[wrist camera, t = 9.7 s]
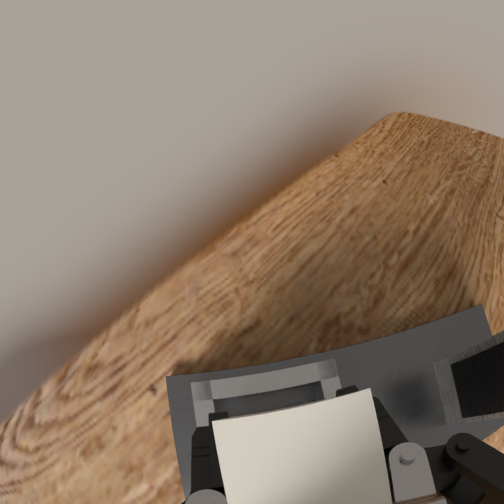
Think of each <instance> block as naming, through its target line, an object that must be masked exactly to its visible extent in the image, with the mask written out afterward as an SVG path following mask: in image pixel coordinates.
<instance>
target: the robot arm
mask: <svg viewBox="0 0 504 504" xmlns="http://www.w3.org/2000/svg"><path fill="white" fill-rule="evenodd" d="M357 391H359V390H358V388H357V387H356V386H355V385H353V386H349V387H345V388H342V389H338V390H337V391H336V397H338V396H342V395H346V394H350V393H354V392H357ZM372 398H373V402H374V406H375V411H376V416H377V420H378V425H379V430H380V435H381V440H382V445H383V450H384V456H385V461H386V467H387V473H388V479H389V486H390V492H391V499H392V504H504V454H503V453H501V452H500V451H498V450H496V449H495V448H493V447H491V446H490V445H488V444H486V443H485V442H483V441H481V440H480V439H478V438H476V437H475V436H473V435H471V434H469V433H458V434H455V435H453V436H452V437H450V438H449V440H448V441H447V443H446V444H445V445H439V446H434V447H428V448H423V447H421V446H420V445H418V444H416V443H411V442H409V441H408V440H407V439H406V437H405V436H404V434H403V433H402V431H401V430H400V429H399V427H398V426H397V424H396V423H395V421H394V420H393V419H392V417H391V416H390V414H389V413H388V412H387V410H385V407H384V406H383V404H382V403H381V402H380V400H379V399H377V398H376V397H374V396H373V395H372ZM225 418H229V415H228V411H222V412H214V413H209V414H208V419H209V426H202V427H197V428H196V430H195V432H194V434H193V435H192V442H191V448H192V450H191V457H192V458H191V492H190V495H189V497H188V498H187V499H186V500H185V501H184V502H183V503H182V504H228V503H227V498H226V494H225V489H224V484H223V479H222V474H221V469H220V464H219V459H218V454H217V448H216V443H215V437H214V431H213V425H212V421H215V420H220V419H225Z"/></svg>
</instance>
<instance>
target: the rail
mask: <svg viewBox="0 0 504 504" xmlns="http://www.w3.org/2000/svg"><path fill="white" fill-rule="evenodd" d="M166 382H167V391H168V399H169V407H170V414H171V421H172V428H173V435H174V441H175V447H176V453H177V458H178V464H179V469H180V475H181V480H182V485H183V489H184V494H185V499H187V498H188V497H189V495H190V492H191V458H192V457H191V450H192V448H191V442H192V435H193V434H194V432H195V430H196V428H197V427H202V426H209V419H208V414H209V413H214V412H222V411H228V415H229V417H234V416H241V415H248V414H254V413H260V412H266V411H272V410H277V409H282V408H287V407H292V406H297V405H301V404H306V403H311V402H315V401H320V400H325V399H329V398H333V397H336V391H337V390H338V389H342V388H345V387H349V386H353V385H355V386H356V387H357V388H358V390H359V391H361V390H365V389H368V388H370V389H371V393H372V395H373V396H374V397H376V398H377V399H379V400H380V402H381V403H382V404H383V406H384V407H385V410H387V412H388V413H389V414H390V416H391V417H392V419H393V420H394V421H395V423H396V424H397V426H398V427H399V429H400V430H401V431H402V433H403V434H404V436H405V437H406V439H407V440H408V441H409V442H411V443H416V444H418V445H420V446H421V447H423V448H428V447H434V446H439V445H445V444H446V443H447V441H448V440H449V438H450V437H452V436H453V435H455V434H458V433H469V434H471V435H473V436H475V437H476V438H478V439H480V440H481V441H482V440H483V439H485V438H486V437H488V436H489V435H491V434H492V433H493V432H495V431H496V430H498V429H499V428H500V427H502V426H503V425H504V330H502V331H501V332H499V333H497V334H495V335H493V336H492V334H491V331H490V328H489V325H488V322H487V319H486V316H485V313H484V310H483V307H482V304H479V305H477V306H474V307H472V308H469V309H467V310H464V311H461V312H459V313H456V314H453V315H451V316H448V317H445V318H442V319H439V320H436V321H433V322H430V323H427V324H424V325H421V326H418V327H415V328H412V329H409V330H406V331H402V332H399V333H396V334H392V335H389V336H385V337H382V338H378V339H375V340H371V341H367V342H364V343H360V344H356V345H352V346H348V347H344V348H340V349H336V350H331V351H327V352H323V353H318V354H314V355H309V356H304V357H299V358H294V359H289V360H284V361H278V362H273V363H267V364H261V365H255V366H249V367H242V368H236V369H229V370H221V371H213V372H205V373H196V374H187V375H176V376H166Z"/></svg>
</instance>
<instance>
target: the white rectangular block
mask: <svg viewBox="0 0 504 504" xmlns="http://www.w3.org/2000/svg"><path fill="white" fill-rule="evenodd" d="M212 425H213V431H214V437H215V443H216V448H217V454H218V459H219V464H220V469H221V474H222V479H223V484H224V489H225V494H226V498H227V503H228V504H392V499H391V492H390V486H389V479H388V473H387V467H386V461H385V456H384V450H383V445H382V440H381V435H380V430H379V425H378V420H377V416H376V411H375V406H374V402H373V398H372V393H371V389H370V388H368V389H365V390H361V391H357V392H354V393H350V394H346V395H342V396H338V397H333V398H329V399H325V400H320V401H315V402H311V403H306V404H301V405H297V406H292V407H287V408H282V409H277V410H272V411H266V412H260V413H254V414H248V415H241V416H234V417H229V418H225V419H220V420H215V421H212Z"/></svg>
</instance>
